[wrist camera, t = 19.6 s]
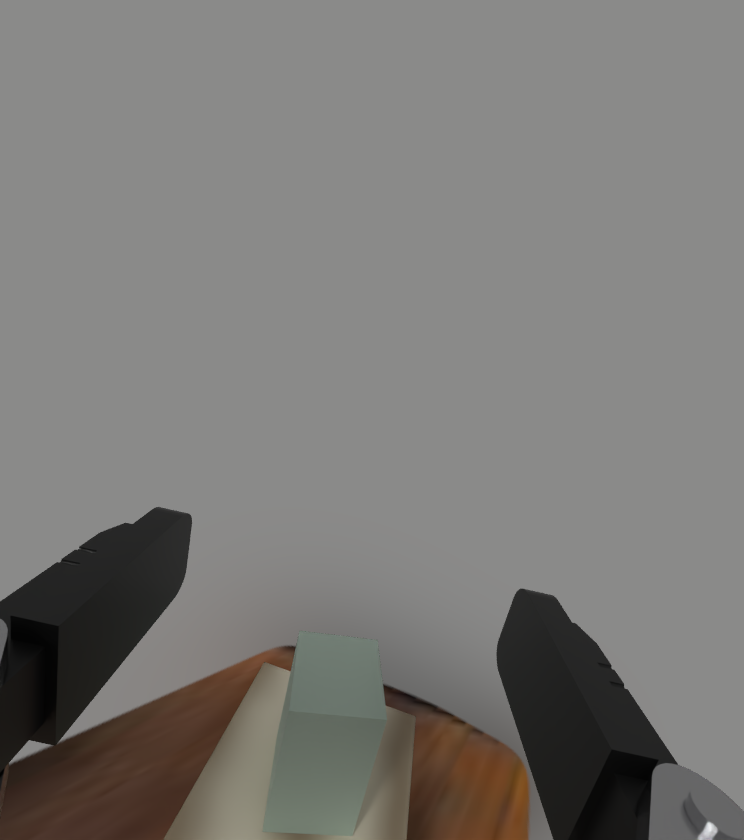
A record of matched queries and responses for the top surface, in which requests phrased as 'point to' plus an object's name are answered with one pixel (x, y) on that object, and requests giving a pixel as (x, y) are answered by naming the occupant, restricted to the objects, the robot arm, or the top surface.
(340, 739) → the sage block
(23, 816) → the top surface
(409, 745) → the birch block
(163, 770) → the top surface
